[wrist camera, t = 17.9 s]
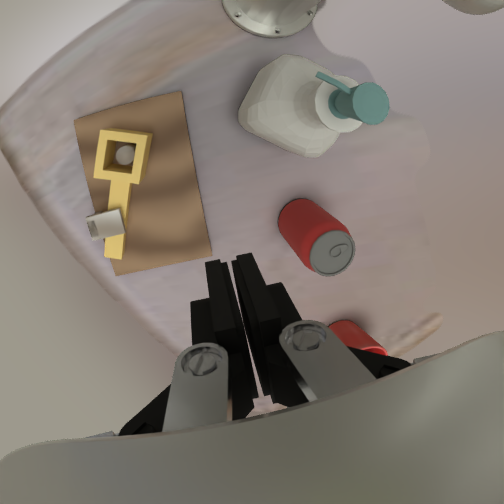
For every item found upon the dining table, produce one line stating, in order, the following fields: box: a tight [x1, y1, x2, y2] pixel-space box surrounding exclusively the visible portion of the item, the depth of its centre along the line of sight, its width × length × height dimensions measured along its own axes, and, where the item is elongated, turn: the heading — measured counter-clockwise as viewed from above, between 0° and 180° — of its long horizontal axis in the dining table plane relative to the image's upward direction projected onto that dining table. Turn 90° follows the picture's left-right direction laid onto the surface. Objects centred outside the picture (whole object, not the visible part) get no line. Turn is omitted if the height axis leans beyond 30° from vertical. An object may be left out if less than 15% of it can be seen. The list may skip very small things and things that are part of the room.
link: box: [93, 128, 153, 260], centre depth 35 cm, size 16×5×5 cm, turn 166°
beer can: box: [278, 199, 355, 276], centre depth 40 cm, size 7×7×12 cm
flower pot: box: [329, 320, 388, 356], centre depth 51 cm, size 11×11×10 cm
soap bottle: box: [238, 54, 389, 158], centre depth 28 cm, size 10×10×23 cm
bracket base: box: [74, 91, 212, 276], centre depth 36 cm, size 22×14×7 cm, turn 8°
